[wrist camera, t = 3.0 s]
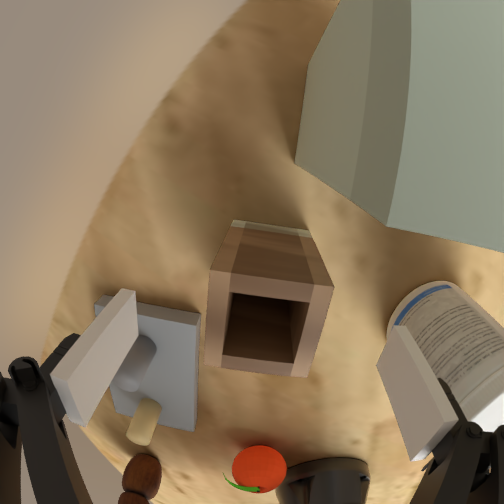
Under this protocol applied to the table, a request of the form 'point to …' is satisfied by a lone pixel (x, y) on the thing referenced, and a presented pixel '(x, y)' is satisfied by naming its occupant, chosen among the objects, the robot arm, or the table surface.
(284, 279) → the sleeve
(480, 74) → the tower
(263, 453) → the clementine
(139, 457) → the wooden figurine
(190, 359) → the pin board
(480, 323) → the supplement tub
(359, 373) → the table surface
